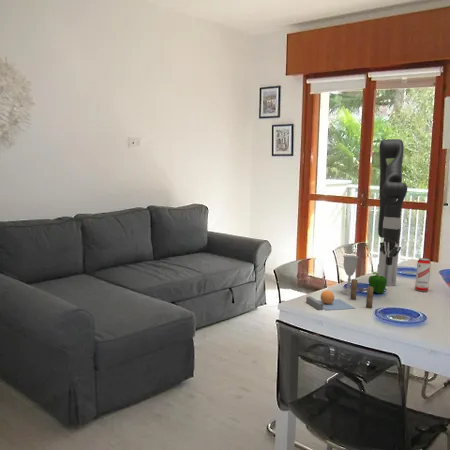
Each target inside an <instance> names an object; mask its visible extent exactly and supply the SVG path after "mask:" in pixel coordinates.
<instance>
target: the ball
mask: <svg viewBox="0 0 450 450" xmlns="http://www.w3.org/2000/svg"><path fill="white" fill-rule="evenodd" d="M334 299H335V294H334V293H333V292H332V290H328V289H327V290H324V291H322V292H321V294H320V300H322V302H323V303H325V304H330V303H332V302H333V301H334Z"/></svg>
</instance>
